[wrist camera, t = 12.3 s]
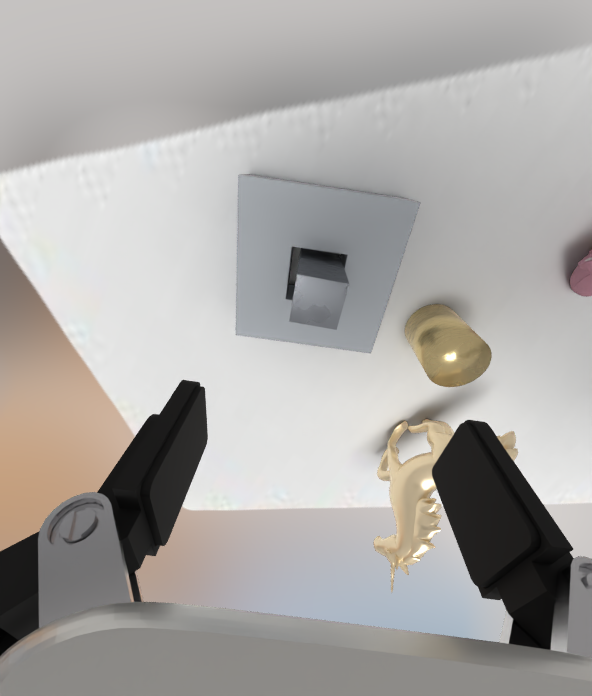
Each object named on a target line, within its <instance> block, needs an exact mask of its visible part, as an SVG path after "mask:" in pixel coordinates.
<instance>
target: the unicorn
mask: <svg viewBox="0 0 592 696" xmlns="http://www.w3.org/2000/svg"><path fill="white" fill-rule="evenodd" d="M407 428H408V430H409V431H410V432H412V433H422V432H427V431H428V433H427V441H428V443H429V445H430V446H431V452H429V453H423V454H420V455H417V456H414V457H412V458H410V459H409V460H407V461H406V462H405V463H403V464H401V463H400V462H399V460H398V453H399V450H398V448H397V447H396V443H397V441H398V439H399V438H400V436H401V435H402V434H403V433H404V432H405V431H406V430H407ZM453 435H454V431H453V430H452V429H451V427H450V426H449V425H448V424H447V423H445V422H442V421H433V420H429V419H425V420H423V421H422V424H419V425H416V426H409V427H408V423H407V422H406V421H404V422H402V423H400V424H399V425H397V426H396V427H395V429H394V431H393V433H392V435H391V437H390V439H389V441H388V443H387V447H388V448H387V449H386V450H385V452H384V454H383V456H382V459H381V463H380V466H379V468H378V471H377V475H378V477H379V479H381V480H383V481H390V488H389V496H390V501H391V505H392V509H393V512H394V516H395V520H396V526H397V535H391V536H389V537H388V538H385V539H382V538H381V537H380V536H378V537H376V538H375V540H374V548H375V550H376V551H377V552H378V553H380V554H382V555H383V556H385V557H387V559H388V561H389V562H390V563H391V591H393V582H394V580H393V578H394V572H395V567H396V569H398V566H400V567H401V569H402V570H403V571H404V572H405V573H406V574H407V575H409V573H408V568H407V565H412V564H414V563H417V562H418V561H420V558H421V557H423V556H424V554H425V553H426V552H427V551H428V550H429V549H431V548H435V546H434V545H433V544H432V543H430V540H431V539H432V537H433V536H434V535H435V534H436V533H438V532H439V531H440V530H441V529H440V528H439V527H437V525H438V523H439V521H440V519H441V515H438V514H436V513H437V512H438V511H439V509H440V508H441V504H437V503H435V501H436V499H434V498H432V499H430V496H431V494H432V493H433V492H434V491H435V490H436V489H437V488H436V485H435V483H434V480H433V477H432V468H433V466H434V464H435V463H436V461H437V460H438V458H439V457H440V455H441V454H442V452H443V450H444V449H445V447H446V446H447V444H448V443H449V441H450V439H451V438H452V436H453ZM497 438H498V439H499V441H500V442H501V444H502V445H503V447H504V448H505V450H506V451H507V452H508V454H509V455H510V457H511V458H512V460H513V461H514V460H515V458H516V457H517V454H518V450H517V449H515V448H514V446H515V442H516V436H515V433H514V431H511V432H508V433H506V434H504V435H503V436H501V437H500V436H497ZM388 467H389V471H387V468H388Z"/></svg>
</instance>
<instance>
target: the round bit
mask: <svg viewBox="0 0 592 696" xmlns="http://www.w3.org/2000/svg"><path fill="white" fill-rule="evenodd" d="M405 336H406V338H407V340H408V342H409V344H410V346H411V347H412V349H413V351H414V353H415V354H416V356H417V358H418V360H419V361H420V363H421V365H422V367H423V368H424V370H425V372H426V374H427V376H428V377H429V379H430V380H431V381H432V382H434V383H435V384H437V385H440V386H445V387H456V386H461V385H465V384H467V383H470V382H472V381H474V380H475V379H477V378H478V377H479V376H481V375H482V374H483V373H484V372H485V371H486V369H487V368H488V366H489V364H490V361H491V350H490V348H489V346H488V345H487V344H486V342H485V341H483V340H482V339H481V338H480V337H479V336H478V335H477V334H476V333H475V332H474V331H473V330H472V329H471V328H470V327H469V326H468V325H467V324H466V323H465V322H464V321H463V320H462V319H461V318H460V317H459V316H458V315H457V314H456V313H455V312H454V311H453V310H452V309H451V308H449V307H448V306H445V305H441V304H432V305H428V306H425V307H422V308H420V309H419V310H417V311H416V312H415V313H413V314H412V315H411V317H410V318H409V319H408V321H407V323H406V326H405Z"/></svg>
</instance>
